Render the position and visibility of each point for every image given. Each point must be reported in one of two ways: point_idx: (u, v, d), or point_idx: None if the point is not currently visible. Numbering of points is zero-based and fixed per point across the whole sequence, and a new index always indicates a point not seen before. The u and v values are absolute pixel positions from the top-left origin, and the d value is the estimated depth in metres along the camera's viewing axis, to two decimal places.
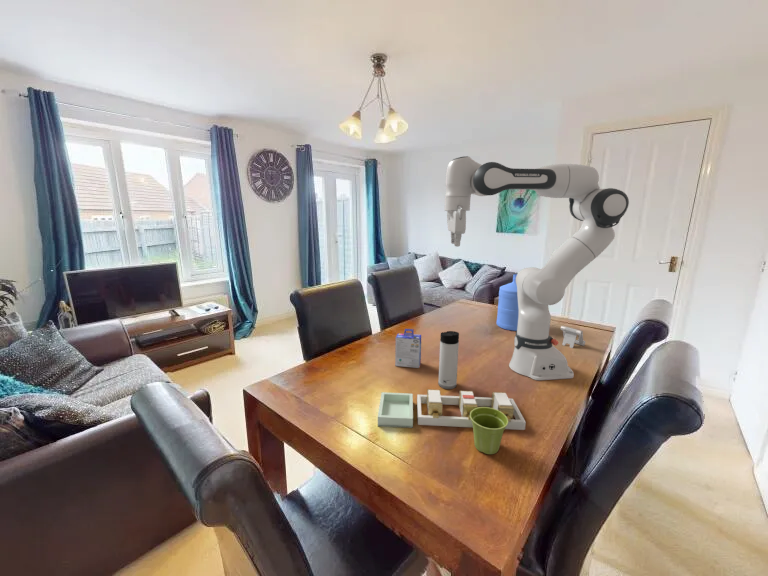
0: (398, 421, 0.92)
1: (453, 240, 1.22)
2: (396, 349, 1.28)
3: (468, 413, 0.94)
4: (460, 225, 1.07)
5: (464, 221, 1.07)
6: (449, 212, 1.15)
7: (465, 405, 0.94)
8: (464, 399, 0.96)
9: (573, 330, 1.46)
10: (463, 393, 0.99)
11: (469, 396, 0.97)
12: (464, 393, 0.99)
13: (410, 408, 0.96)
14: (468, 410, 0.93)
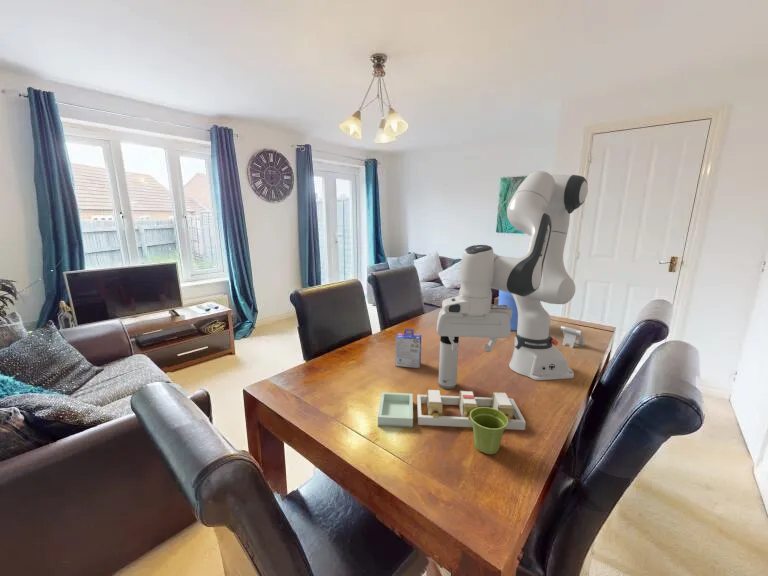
0: (398, 421, 0.92)
1: None
2: (396, 349, 1.28)
3: (468, 413, 0.94)
4: None
5: None
6: (480, 315, 0.88)
7: (465, 405, 0.94)
8: (464, 399, 0.96)
9: (573, 330, 1.46)
10: (463, 393, 0.99)
11: (469, 396, 0.97)
12: (464, 393, 0.99)
13: (410, 408, 0.96)
14: (468, 410, 0.93)
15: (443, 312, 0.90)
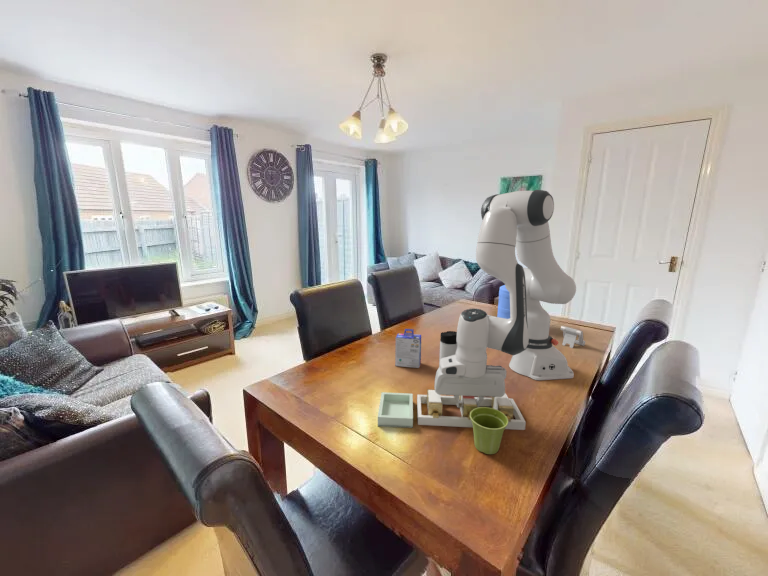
0: (398, 421, 0.92)
1: None
2: (396, 349, 1.28)
3: (468, 413, 0.94)
4: None
5: None
6: (476, 376, 0.92)
7: (465, 405, 0.94)
8: (464, 399, 0.96)
9: (573, 330, 1.46)
10: None
11: (469, 396, 0.97)
12: None
13: (410, 408, 0.96)
14: (468, 410, 0.93)
15: (440, 372, 0.94)
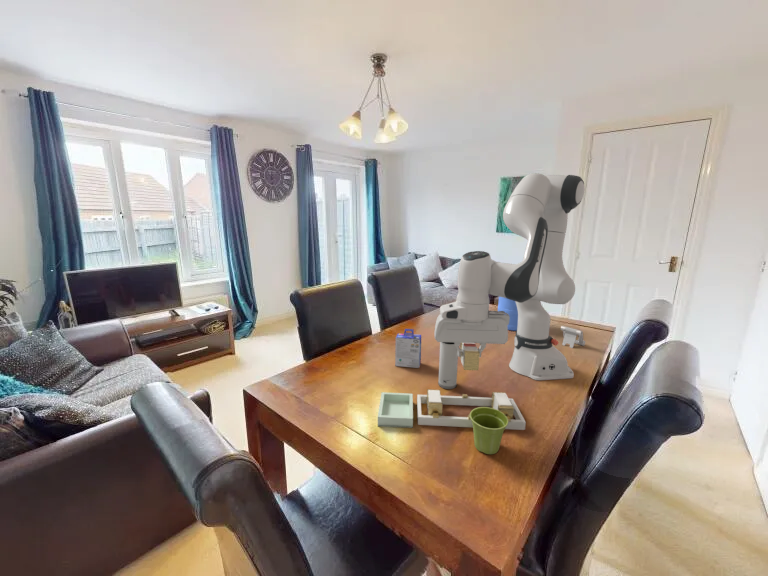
0: (398, 421, 0.92)
1: None
2: (396, 349, 1.28)
3: (469, 360, 0.90)
4: None
5: None
6: (478, 321, 0.88)
7: (466, 351, 0.90)
8: (465, 347, 0.92)
9: (573, 330, 1.46)
10: None
11: (470, 344, 0.93)
12: None
13: (410, 408, 0.96)
14: (469, 357, 0.89)
15: (441, 318, 0.91)
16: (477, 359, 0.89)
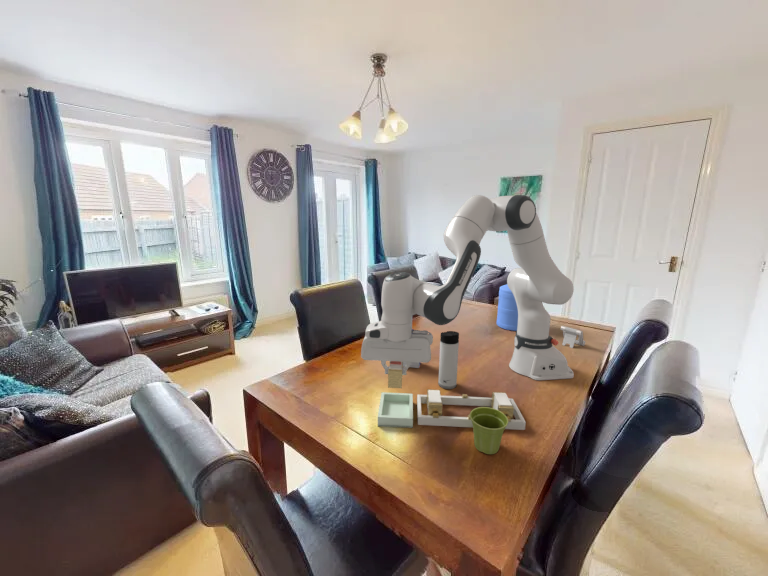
0: (398, 421, 0.92)
1: None
2: None
3: (393, 378, 0.92)
4: None
5: None
6: (400, 340, 0.91)
7: (390, 370, 0.92)
8: (391, 365, 0.94)
9: (573, 330, 1.46)
10: None
11: (396, 362, 0.95)
12: None
13: (410, 408, 0.96)
14: (393, 375, 0.91)
15: (366, 337, 0.93)
16: (400, 377, 0.91)
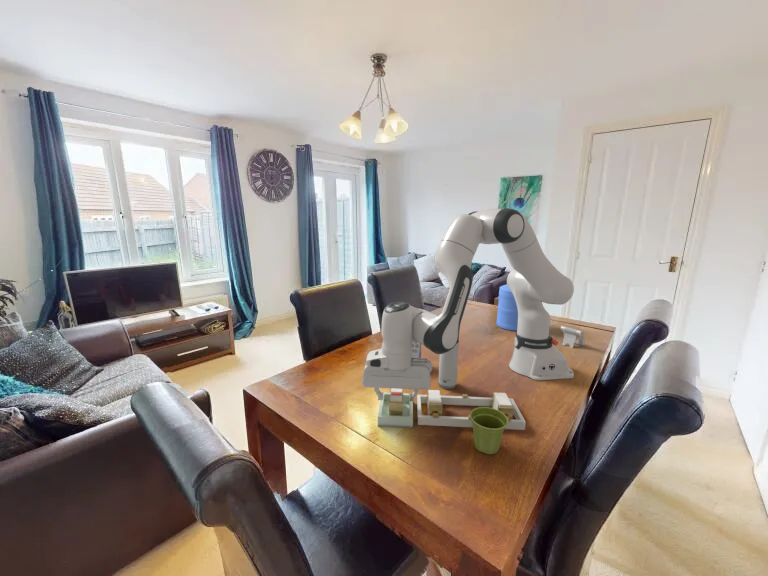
0: (398, 421, 0.92)
1: (382, 395, 0.98)
2: None
3: (393, 410, 0.94)
4: None
5: None
6: (400, 369, 0.93)
7: (390, 402, 0.94)
8: (391, 396, 0.96)
9: (573, 330, 1.46)
10: (392, 390, 0.99)
11: (397, 393, 0.97)
12: (393, 390, 0.99)
13: (410, 408, 0.96)
14: (393, 407, 0.94)
15: (367, 365, 0.95)
16: (400, 409, 0.94)
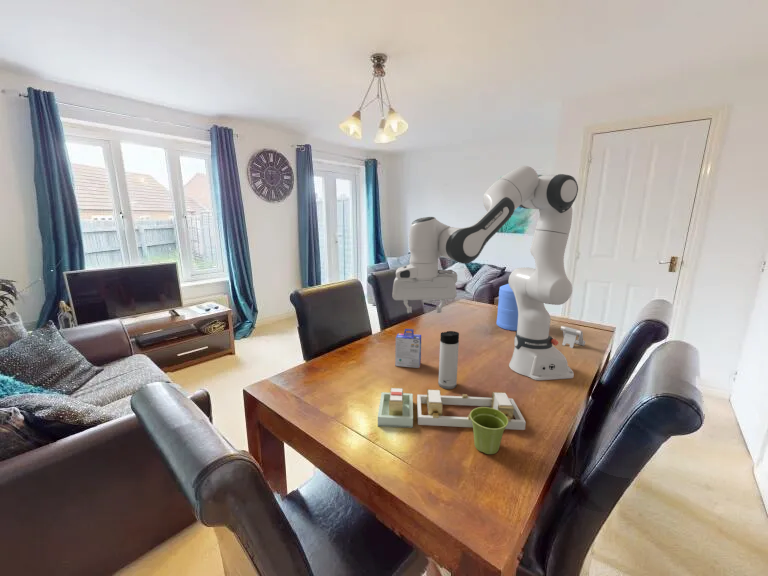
0: (398, 421, 0.92)
1: (411, 309, 1.05)
2: (396, 349, 1.28)
3: (393, 410, 0.94)
4: None
5: None
6: (428, 279, 1.00)
7: (390, 402, 0.94)
8: (391, 396, 0.96)
9: (573, 330, 1.46)
10: (392, 390, 0.99)
11: (397, 393, 0.97)
12: (393, 390, 0.99)
13: (410, 408, 0.96)
14: (393, 407, 0.94)
15: (396, 278, 1.02)
16: (400, 409, 0.94)
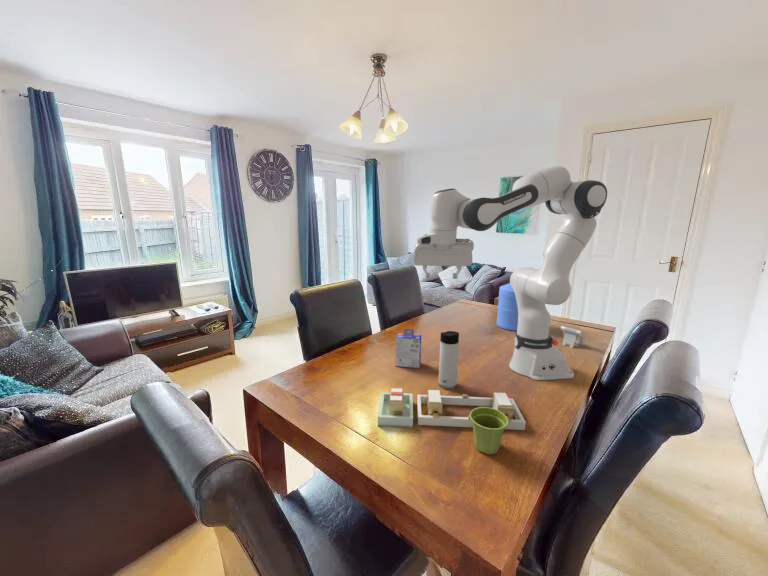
0: (398, 421, 0.92)
1: (429, 274, 1.13)
2: (396, 349, 1.28)
3: (393, 410, 0.94)
4: None
5: None
6: (447, 246, 1.08)
7: (390, 402, 0.94)
8: (391, 396, 0.96)
9: (573, 330, 1.46)
10: (392, 390, 0.99)
11: (397, 393, 0.97)
12: (393, 390, 0.99)
13: (410, 408, 0.96)
14: (393, 407, 0.94)
15: (417, 245, 1.10)
16: (400, 409, 0.94)
